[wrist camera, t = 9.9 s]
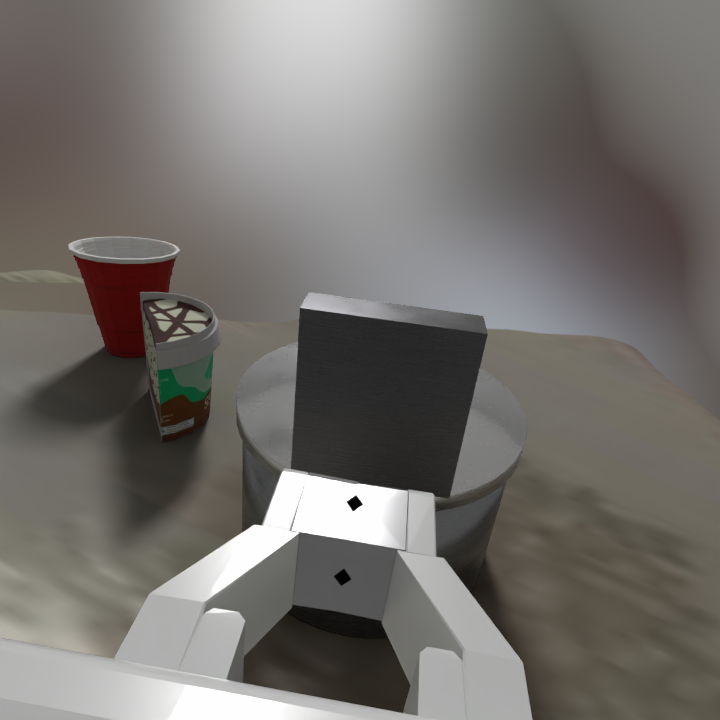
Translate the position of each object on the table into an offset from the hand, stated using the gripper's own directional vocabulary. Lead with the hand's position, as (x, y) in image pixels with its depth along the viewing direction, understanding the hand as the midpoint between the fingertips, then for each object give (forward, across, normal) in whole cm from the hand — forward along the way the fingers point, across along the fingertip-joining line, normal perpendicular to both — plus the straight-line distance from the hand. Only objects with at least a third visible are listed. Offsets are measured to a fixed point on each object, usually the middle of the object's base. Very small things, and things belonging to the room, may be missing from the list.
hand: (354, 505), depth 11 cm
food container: (+34, +18, +23) cm, 45 cm away
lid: (+22, 0, +12) cm, 25 cm away
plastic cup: (+45, +28, +23) cm, 58 cm away
